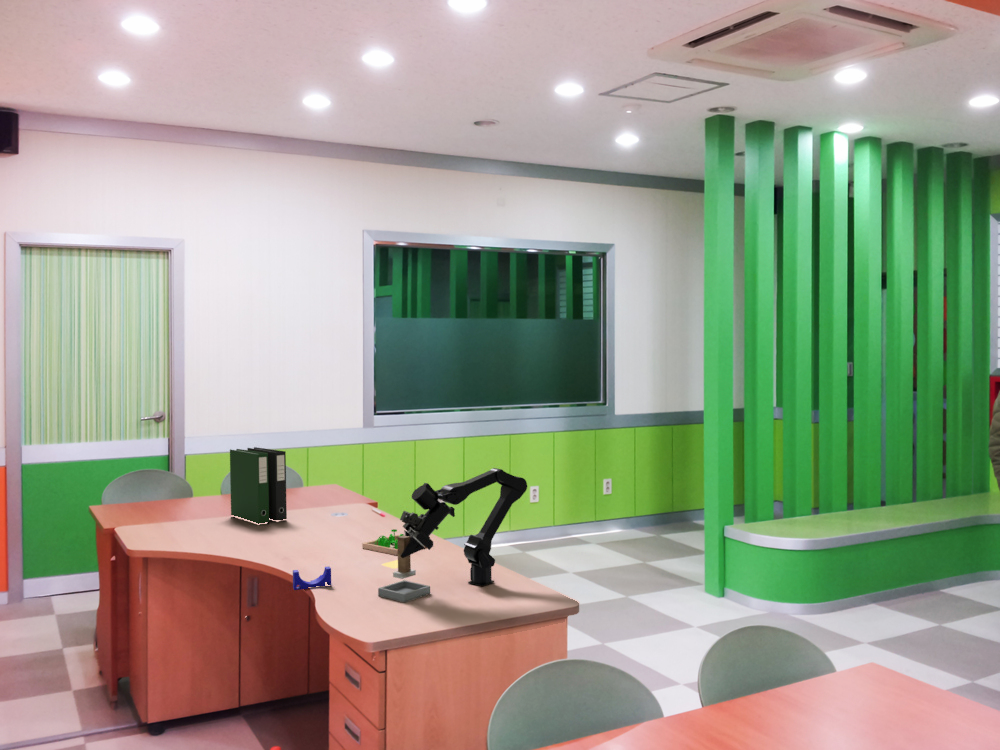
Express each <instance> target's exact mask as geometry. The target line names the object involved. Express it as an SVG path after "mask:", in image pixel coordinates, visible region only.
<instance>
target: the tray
mask: <svg viewBox="0 0 1000 750" xmlns="http://www.w3.org/2000/svg"><path fill="white" fill-rule="evenodd" d="M377 590H378V591H377V593H378V597H381V598H384V597H385V599H389V600H393V601H397V602H400V603H401V602H402V603H407V602H410V600H411V601H412V600H413V599H414V600H416V599H419V598H422V597H426V596H428V595H431V586H430V585H427V584H423V583H418V582H414V581H410V580H409V581H408V580H405V579H404V580H403V579H402V580H401V581H397V582H394V583H391V584H387V585H384V586H380V587H378V588H377ZM427 594H428V595H427ZM421 596H422V597H421Z"/></svg>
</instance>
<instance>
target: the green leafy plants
mask: <svg viewBox="0 0 1000 750" xmlns="http://www.w3.org/2000/svg"><path fill="white" fill-rule="evenodd" d="M390 531H391V533H390V534H389V536H388V537H389V540H388V539H387V538H386V537H387V536H385V535H380V536H378V538H377V539H375V540H376V542H377V540H379V539H380V540H379V541H378V546H383V547H388V548H391V545H393V544H394V549H398V540H397V539H396V541H395V535H396V534H395V533H397V531H398V529H394V528H393V529H391V530H390ZM398 535H399V537H400V536H405V533H400V534H398ZM385 538H386V539H385ZM391 543H392V544H391ZM375 544H376V543H375Z"/></svg>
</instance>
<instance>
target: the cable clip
mask: <svg viewBox="0 0 1000 750" xmlns="http://www.w3.org/2000/svg"><path fill="white" fill-rule="evenodd" d="M325 582H327V584H328V585H331V586H332V567H330V566H324V569H323V573H322V574H320V575H319V576H318V577H316V578H314V579H313V580H310V581H306V580H304V579H302V578H301V576H300V570H299V569H294V570H292V588H293V590H294V591H299V590H307V589H308V587H316V586H325Z"/></svg>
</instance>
